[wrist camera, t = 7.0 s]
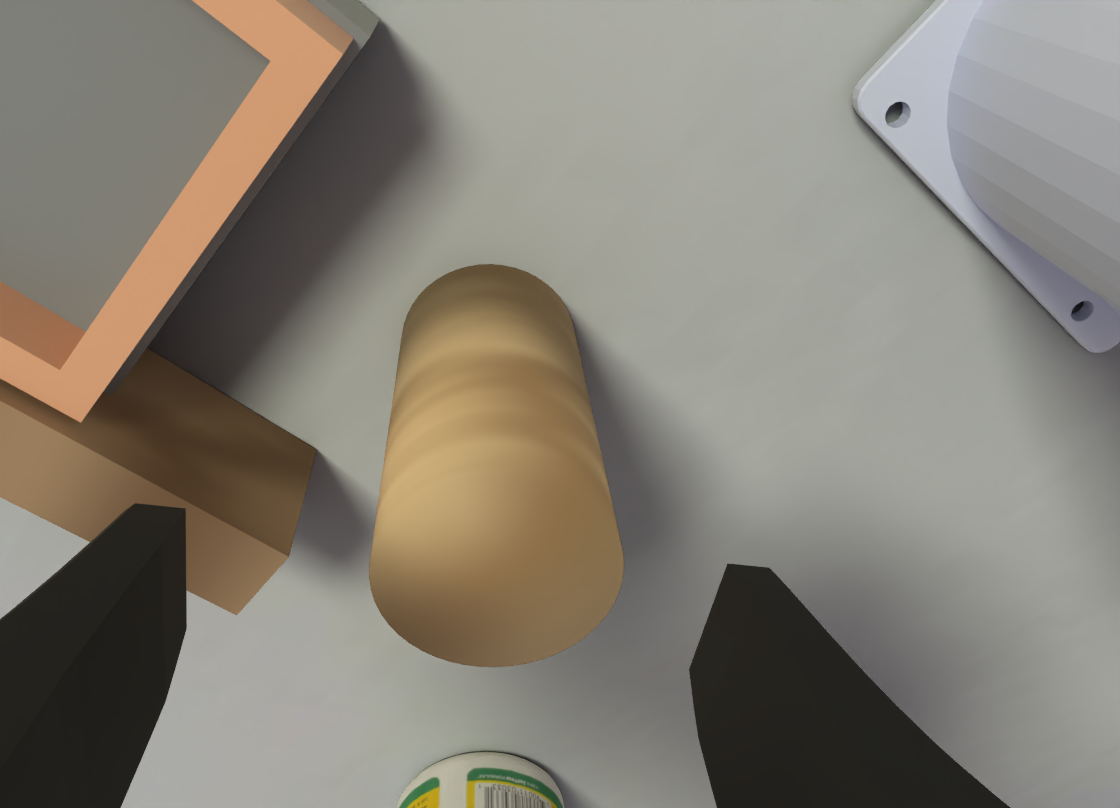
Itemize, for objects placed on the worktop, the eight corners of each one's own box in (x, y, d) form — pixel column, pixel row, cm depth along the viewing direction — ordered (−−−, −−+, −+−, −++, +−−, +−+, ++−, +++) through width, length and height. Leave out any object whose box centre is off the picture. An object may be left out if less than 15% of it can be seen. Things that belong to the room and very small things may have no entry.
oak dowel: (610, 332, 22) (675, 556, 15) (501, 446, 23) (514, 700, 16) (474, 228, 20) (476, 424, 13) (366, 357, 21) (318, 595, 15)
